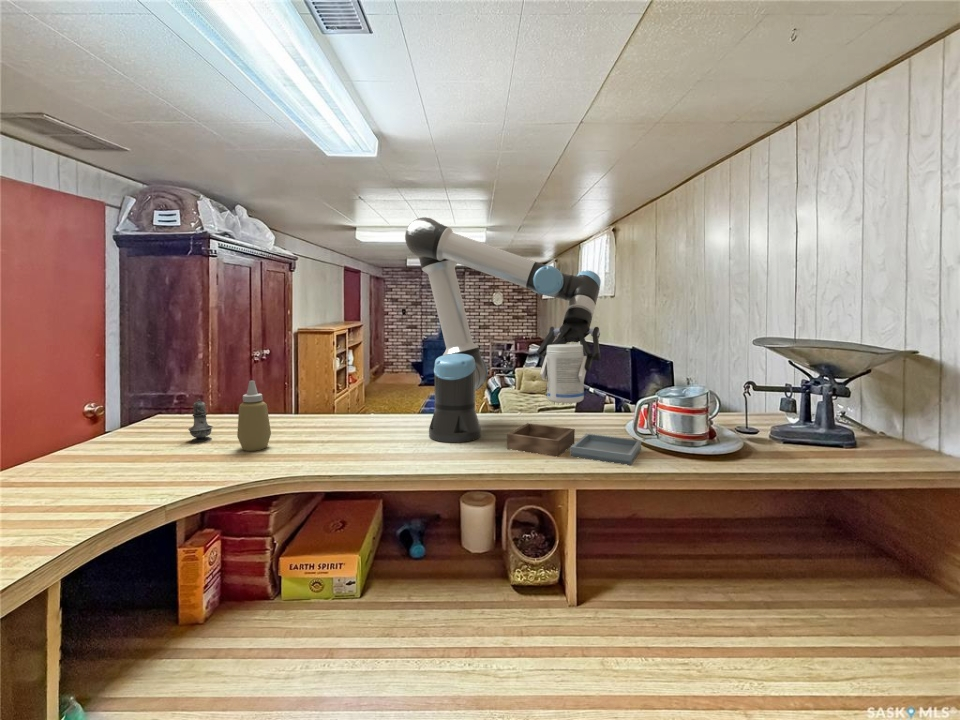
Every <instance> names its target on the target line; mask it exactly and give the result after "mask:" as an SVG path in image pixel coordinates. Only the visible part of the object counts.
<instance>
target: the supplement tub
mask: <svg viewBox="0 0 960 720" xmlns="http://www.w3.org/2000/svg"><path fill="white" fill-rule="evenodd" d="M584 353H585V352H584V349H583V345H581V344H578V343H577V344H576V343H575V344H574V343H566V344H555V345H548V346H547V376H546V398H547V400H548V401H549V402H552V403H556V404H576V403H580V402H582V401H584V399H585V391H584V389H585V388H584V387H585V385H584V384H585V383H584V382H585V381H584V382H580V379H579V372H580V368H581V364H582V360H583V356H585V355H584Z"/></svg>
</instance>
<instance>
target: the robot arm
mask: <svg viewBox="0 0 960 720" xmlns="http://www.w3.org/2000/svg"><path fill="white" fill-rule="evenodd" d="M404 240H405V245H406V247H407V248H408V250H409V251H410V253H412V254H413V255H414V256H417V257H418V259H419V264H420V268H421V270H422V271H423V272H424V273H425V274H427V275H428V280H429V285H430V288H431V291H432V292H431V293H432V295H433V301H434V304H435V308H436V312H437V316H438V321H439V324H440V327H441V328H440V329H441V333H442V336H443V341H444V345H445V348H446V349H445V351H444V353H443V354H442V355H440V356H438V357H437V358H436V359H435V361H434V368H433V374H434V411H433V415H432V418H431V422H430V424H429V427H428V437H429V438H430V439H431V440H433V441H437V442H442V443H443V442H444V443H465V442H470V441H475V440H478V439H479V438H481V436H482V427H481V424H480V422H479V417H478V415H477V412H476V391H477V390H479V389H480V388H481V387H482V386H483V385H484V383H485V382H486V380H487V377H488V366H487V363H486V362H485V360H484V359H483V358H482V355H481V351H480V347H479V345H478V344H476V343H474V341H473V338H472V334H471V330H470V326H469V322H468V318H467V317H468V316H467V314H466V313H467V312H466V309H465V306H464V305H465V304H464V301H463V297H462V293H461V289H460V283H459V281H458V277H457V273H456V267H457V264H459V265H462V266H464V267H468V268H470V269H472V270H476V271H477V272H478V271H479V272H480V273H481V272H482V273H484V274H486V275H490V276H492V277H495V278H498V279H500V280H503V281H506V282H509V283H511V284H514V285H518V286H519V287H520V286H521V287H522V288H523V287H524V288H526V289H528V290H530V291H532V292H533V293H535V294H538V295H540V296H546V297H550V298H556V299H560V300H565V301H568V304H567V307H566V310H565V313H564V318H563V320H562V325H560V327H558V328H555V327H554V326H550V327H549V331H548V333H547V334H546V337H545V338H544V339H543V341H542V343H541V344H540V346H539V347H538V348H537V350H536V353H537V355H538V358H539V359H540V363H539V365H540V368H541V370H540V373H539V375H540V378H541V379H542V381H546V380H547V346H548V345H555V344H568V343H580V345H583V352H584V353H585V355H584V356H583V360H582V364H581V368H580V372H579V379H580V382H585V377H586V373H587V372H588V371H591V368H592V363H593V362H594V361H600V360H601V351H600V342H599V339H600V336H601V332H600V328H599V326H594V327H593V328H591V325H592V320H593V318H594V317H593V316H594V313H595V312H594V311H595V310H596V305H597V300H598V297H599V294H600V289H601V283H602V281H601V278H600V275H598V273H596V272H594V271H592V270H585V271H584V270H583V271H580V272H578V273H577V275H575V274H574V275H573V274H568V273H564V272H562V271H561V270H559V269H558V267H555V266H553V265H546V264H544V263H541V262H538V261H535V260H532V259H530V258H527V257H525V256H521V255H519V254H517V253H516V254H515V253H512V252H509V251H507V250H504V249H501V248H498V247H495V246H492V245H491V244H487V243H483V242H481V241H478V240H475V239H472V238H470V237H466V236H464V235H461V234H457V233H456V232H453V229H452V228H451V227H449V226H446V225H444V224H442V223H440V222H438V221H437V220H436V219H433V218H430V217H427V216H426V217H419V218H415V219H414V220H413V221H411V223H409V225H408V226H407V228H406V230H405V235H404ZM589 335H590V337H592V344H593V353H592V352H591V350H590V347H589V345H588V343H587V341H586V337H587V336H589Z"/></svg>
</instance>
